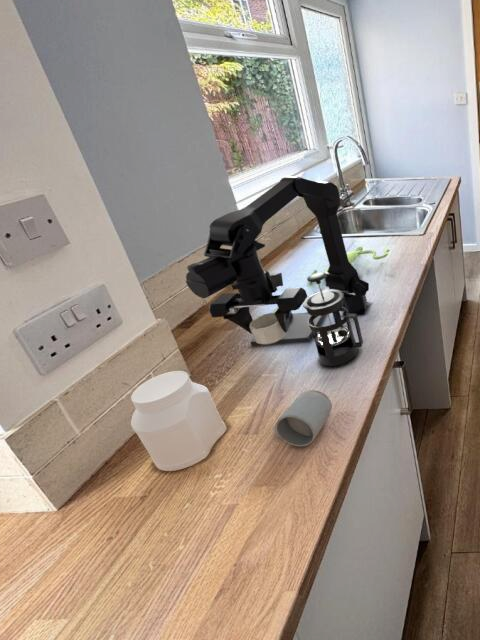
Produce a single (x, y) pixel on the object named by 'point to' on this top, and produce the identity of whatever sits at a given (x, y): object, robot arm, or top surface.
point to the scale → (296, 329)
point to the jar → (175, 420)
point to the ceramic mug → (304, 418)
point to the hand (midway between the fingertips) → (271, 332)
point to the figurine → (354, 254)
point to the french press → (332, 326)
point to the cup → (266, 329)
